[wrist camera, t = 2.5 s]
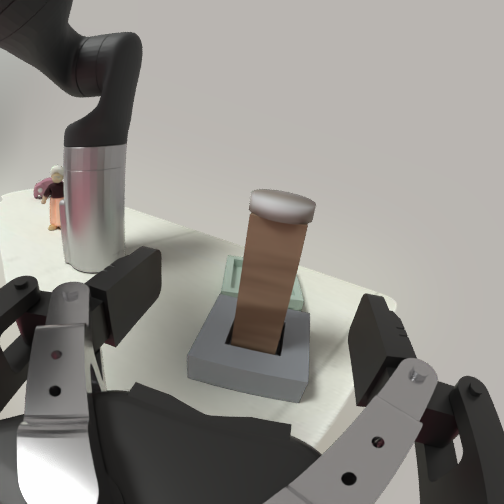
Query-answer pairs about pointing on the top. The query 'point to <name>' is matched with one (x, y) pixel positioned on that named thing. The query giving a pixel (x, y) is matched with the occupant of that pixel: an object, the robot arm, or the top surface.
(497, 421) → the robot arm
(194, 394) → the top surface
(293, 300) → the sage green tray
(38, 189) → the video game controller
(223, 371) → the charcoal holder
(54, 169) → the grandmother figurine
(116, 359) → the top surface
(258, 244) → the dark wooden pin
